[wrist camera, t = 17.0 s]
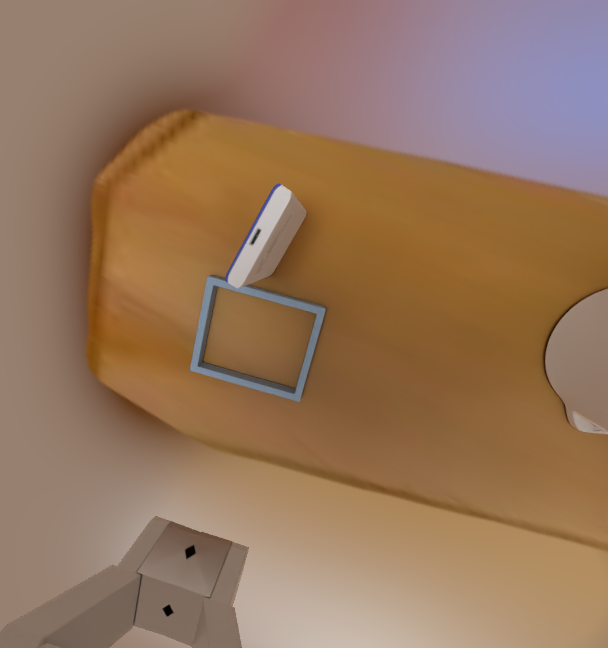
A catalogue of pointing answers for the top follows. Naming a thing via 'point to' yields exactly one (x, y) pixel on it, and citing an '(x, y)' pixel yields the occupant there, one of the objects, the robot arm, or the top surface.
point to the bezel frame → (243, 378)
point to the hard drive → (267, 238)
